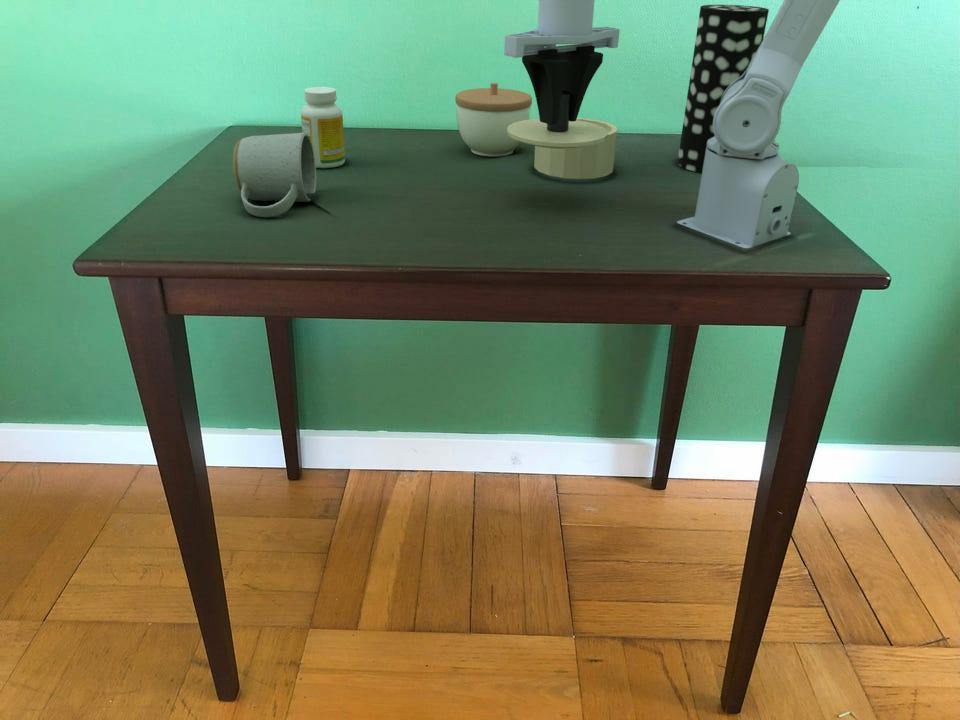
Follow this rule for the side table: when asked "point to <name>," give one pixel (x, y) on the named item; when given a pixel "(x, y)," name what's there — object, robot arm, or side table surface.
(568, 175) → the tin
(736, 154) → the robot arm
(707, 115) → the white-spotted black cylinder
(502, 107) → the trinket box
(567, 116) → the tin lid
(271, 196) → the ceramic mug
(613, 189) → the side table surface
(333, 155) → the supplement bottle
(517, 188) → the side table surface
